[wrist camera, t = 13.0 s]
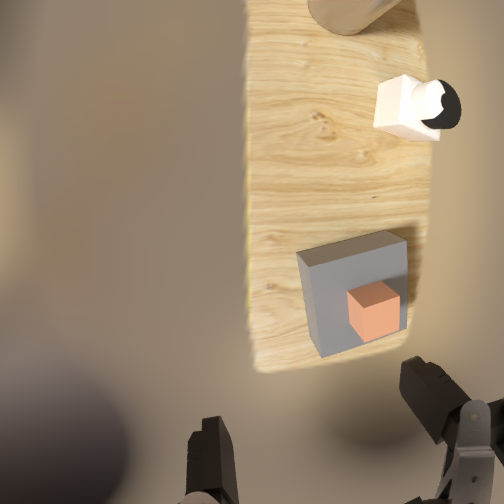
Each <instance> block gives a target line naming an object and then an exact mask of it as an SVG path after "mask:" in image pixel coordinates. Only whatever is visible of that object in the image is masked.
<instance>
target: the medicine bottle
mask: <svg viewBox="0 0 504 504" xmlns="http://www.w3.org/2000/svg"><path fill="white" fill-rule="evenodd" d="M460 116H461V104H460V100H459V97H458V95H457V94H456V92H455V90H454V89H453V88H452V87H451V86H450V85H449V84H448V83H446V82H445V81H442V80H432V81H429V82H425V83H423V82H421V81H419V80H417V79H415V78H413V77H411V76H409V75H407V74H403V75H400V76H398V77H395V78H392V79H390V80H387V81H385V82H382V83H380V84H379V86H378V95H377V103H376V110H375V117H374V124H373V126H374V128H376V129H379V130H382V131H385V132H387V133H390V134H393V135H396V136H398V137H401V138H403V139H406V140H408V141H439V140H440V135H441V129H450V128H453V127H455V126H456V125H457V124H458V122H459V120H460Z"/></svg>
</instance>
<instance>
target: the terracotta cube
mask: <svg viewBox="0 0 504 504" xmlns="http://www.w3.org/2000/svg"><path fill="white" fill-rule="evenodd" d="M347 297H348V308H349V321H350V324H351V326H352V327H353V328H354V329H355V331H356V332H357V333H358V335H359V336H360V337H361V338H362V340H363V341H364V342H365V343H366V342H368V341H371V340H374V339H377V338H379V337H382V336H385V335H387V334H390V333H393V332H395V331H398V330H399V320H400V296H399V295H398V294H397V293H396V292H395V291H393V290H392V289H391V288H389V287H388V286H387V285H386V284H384V283H383V282H382V281H377V282H374V283H371V284H368V285H365V286H361V287H358V288H355V289H352V290H348V291H347Z"/></svg>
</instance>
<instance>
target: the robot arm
mask: <svg viewBox="0 0 504 504" xmlns="http://www.w3.org/2000/svg"><path fill="white" fill-rule="evenodd" d="M401 1H402V0H308V8H309V11H310V13H311V15H312V17H313V18H314V19H315V20H316V21H317V22H318V23H319V24H320V25H321V26H322V27H324V28H325V29H327V30H329V31H331V32H333V33H336V34H340V35H354V34H357V33H359V32H360V31H362V30H363V29H365V28H366V27H367V26H368V25H370V24H371V23H372V22H374V21H375V20H376V19H378V18H379V17H380V16H382V15H383V14H384V13H386V12H387V11H388V10H390V9H391V8H393V7H394V6H395V5H397V4H398V3H400V2H401ZM399 389H400V393H401V395H402V397H403V399H404V400H405V401H406V403H407V404H408V406H409V407H410V408H411V410H412V411H413V412H414V414H415V415H416V417H417V418H418V419H419V421H420V422H421V424H422V425H423V426H424V428H425V429H426V431H427V432H428V433H429V435H430V436H431V438H432V439H433V441H434V442H435V444H436V445H438V444H439V443H441V442H443V441H445V442H446V444H447V446H446V451H445V457H444V463H443V468H442V473H441V479H440V482H439V486H438V488H437V491H436V493H435V496H434V499H428V500H423V501H422V500H421V498H420V496H419V497H417V498H415V499H413V500H411V501H409V502H407V503H405V504H490V499H491V492H492V483H493V473H494V459H495V454H496V456H497V457H498V459H499V460H500V462H501V463H502V465H503V466H504V398H503V399H500V400H497V401H494V402H491V403H487V404H486V403H485V402H483V401H481V400H471V399H470V398H469V397H468V396H467V394H466V393H465V392H464V391H463V390H462V389H461V388H460V387H459V386H458V385H457V384H456V383H455V382H454V381H453V380H451V377H450V376H449V375H447V374H446V372H445V371H444V370H443V369H442V368H441V367H440V366H438V365H436V364H434V363H432V362H429V363H425V362H424V361H423V360H422V359H421V358H420V357H419V356H415V357H413V358H411V359H408V360H406V361H404V362H402V365H401V374H400V383H399ZM490 447H491V448H492V450H491V449H490ZM187 461H188V462H187V479H186V480H187V481H186V494H185V496H184V497H183V498H182V499H181V501H180V502H179V503H178V504H239V500H238V490H237V481H236V472H235V462H234V452H233V445H232V440H231V437H230V435H229V433H228V431H227V428H226V426H225V424H224V422H223V420H222V418H221V416H215V417H209V418H203V419H202V431H196V432H193V433H192V435H191V437H190V439H189V441H188V454H187Z"/></svg>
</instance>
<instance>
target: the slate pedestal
mask: <svg viewBox="0 0 504 504" xmlns="http://www.w3.org/2000/svg"><path fill="white" fill-rule="evenodd" d="M296 254H297V259H298V265H299V271H300V276H301V282H302V288H303V294H304V301H305V307H306V313H307V319H308V326H309V333H310V337H311V339H312V341H313V343H314V345H315V347H316V349H317V351H318V352H319V354H320V356H321V358H324V357H327V356H331V355H334V354H337V353H340V352H343V351H346V350H349V349H352V348H355V347H358V346H361V345H364V344H367V343H369V342H372V341H375V340H378V339H380V338H383V337H386V336H388V335H391V334H394V333H396V332H399V331H401V330H404V329H406V328H407V307H408V261H407V240H405V239H403V238H401V237H398V236H396V235H394V234H392V233H390V232H388V231H386V230H383V231H379V232H376V233H372V234H368V235H364V236H360V237H356V238H352V239H348V240H344V241H340V242H337V243H333V244H329V245H325V246H321V247H317V248H313V249H309V250H305V251H301V252H297V253H296ZM377 281H382V282H383V283H384V284H386V285H387V286H388V287H389V288H391V289H392V290H393V291H395V292H396V293H397V294H398V295H399V296H400V320H399V330H398V331H395V332H393V333H390V334H387V335H385V336H382V337H379V338H377V339H374V340H371V341H368V342H366V343H365V342H364V341H363V340H362V338H361V337H360V336H359V335H358V333H357V332H356V331H355V329H354V328H353V327H352V326H351V324H350V321H349V308H348V297H347V291H348V290H352V289H355V288H358V287H361V286H365V285H368V284H371V283H374V282H377Z"/></svg>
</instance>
